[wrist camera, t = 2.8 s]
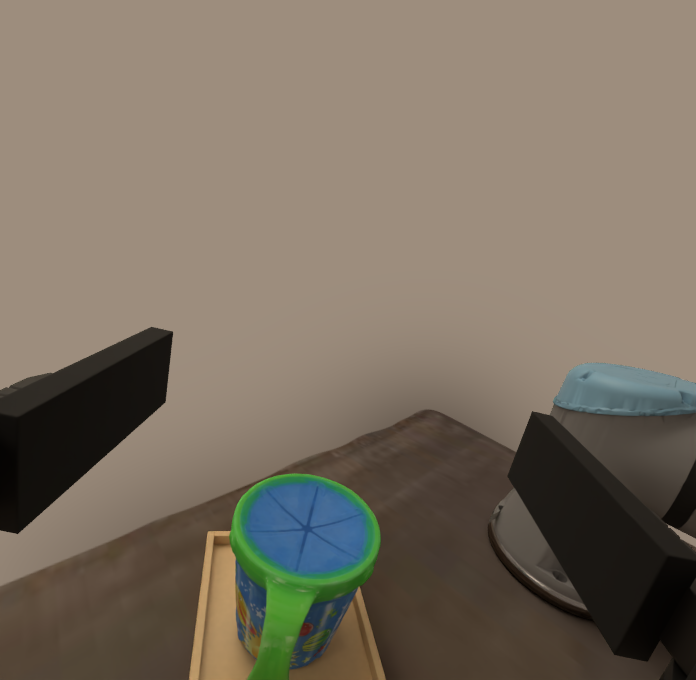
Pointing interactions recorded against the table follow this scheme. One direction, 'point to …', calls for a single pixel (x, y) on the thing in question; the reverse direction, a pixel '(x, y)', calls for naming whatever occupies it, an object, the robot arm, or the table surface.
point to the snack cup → (298, 567)
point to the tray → (231, 655)
